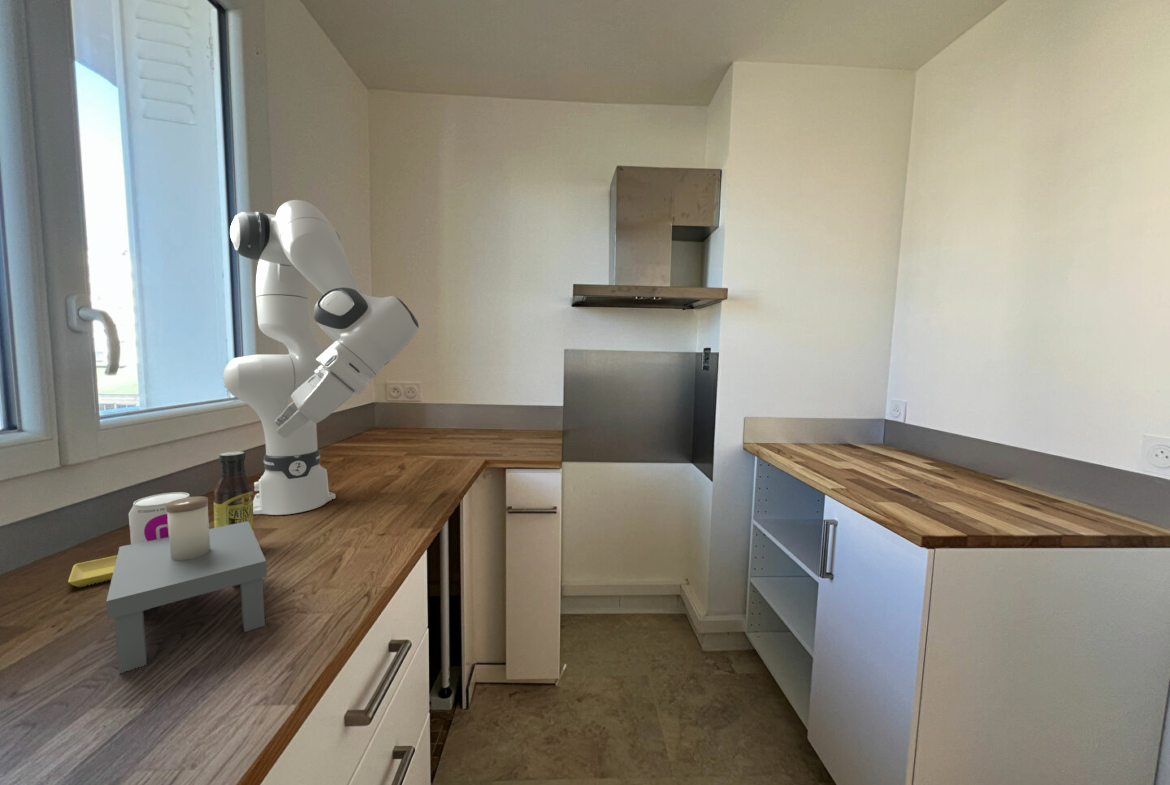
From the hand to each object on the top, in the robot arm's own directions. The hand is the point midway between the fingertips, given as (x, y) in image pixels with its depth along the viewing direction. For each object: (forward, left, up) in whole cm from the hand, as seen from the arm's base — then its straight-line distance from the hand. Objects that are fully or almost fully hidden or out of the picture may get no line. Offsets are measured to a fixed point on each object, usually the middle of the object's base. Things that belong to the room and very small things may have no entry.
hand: (279, 429), depth 75 cm
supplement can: (-15, -15, -27) cm, 35 cm away
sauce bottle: (-23, -5, -27) cm, 36 cm away
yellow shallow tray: (-26, -23, -28) cm, 44 cm away
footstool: (+1, -12, -27) cm, 30 cm away
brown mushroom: (+1, -12, -17) cm, 21 cm away
